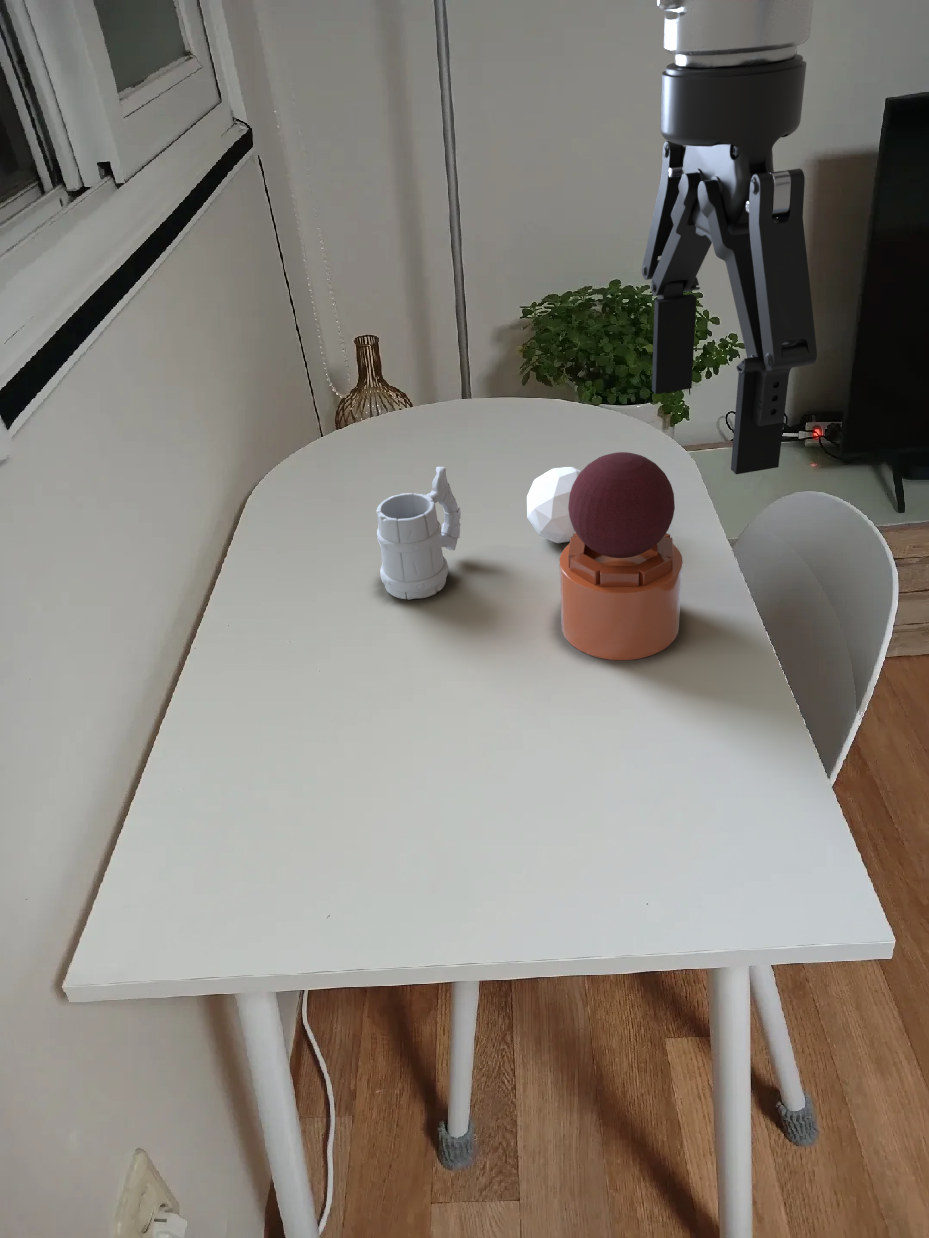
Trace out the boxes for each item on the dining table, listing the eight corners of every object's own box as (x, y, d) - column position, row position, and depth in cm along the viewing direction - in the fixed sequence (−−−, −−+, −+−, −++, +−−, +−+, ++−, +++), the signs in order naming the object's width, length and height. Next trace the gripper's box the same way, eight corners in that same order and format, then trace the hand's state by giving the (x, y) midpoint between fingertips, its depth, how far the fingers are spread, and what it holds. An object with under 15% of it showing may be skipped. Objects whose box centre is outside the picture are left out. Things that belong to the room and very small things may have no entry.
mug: (368, 588, 108) (352, 494, 101) (437, 543, 115) (427, 452, 108) (417, 609, 104) (404, 513, 97) (486, 561, 111) (478, 468, 104)
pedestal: (680, 662, 93) (685, 580, 87) (557, 658, 95) (554, 578, 89) (677, 593, 102) (681, 516, 97) (565, 591, 104) (563, 515, 99)
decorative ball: (567, 527, 98) (565, 437, 92) (665, 522, 97) (669, 431, 91) (571, 580, 90) (569, 485, 84) (679, 575, 89) (684, 479, 83)
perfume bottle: (597, 550, 107) (626, 512, 117) (575, 474, 104) (606, 441, 114) (528, 561, 112) (561, 523, 121) (505, 488, 109) (541, 455, 118)
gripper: (595, 49, 61) (597, 371, 73) (773, 84, 40) (735, 522, 52) (707, 36, 62) (691, 356, 74) (937, 64, 41) (862, 500, 53)
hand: (709, 426), depth 63 cm, fingers open, 13 cm apart
